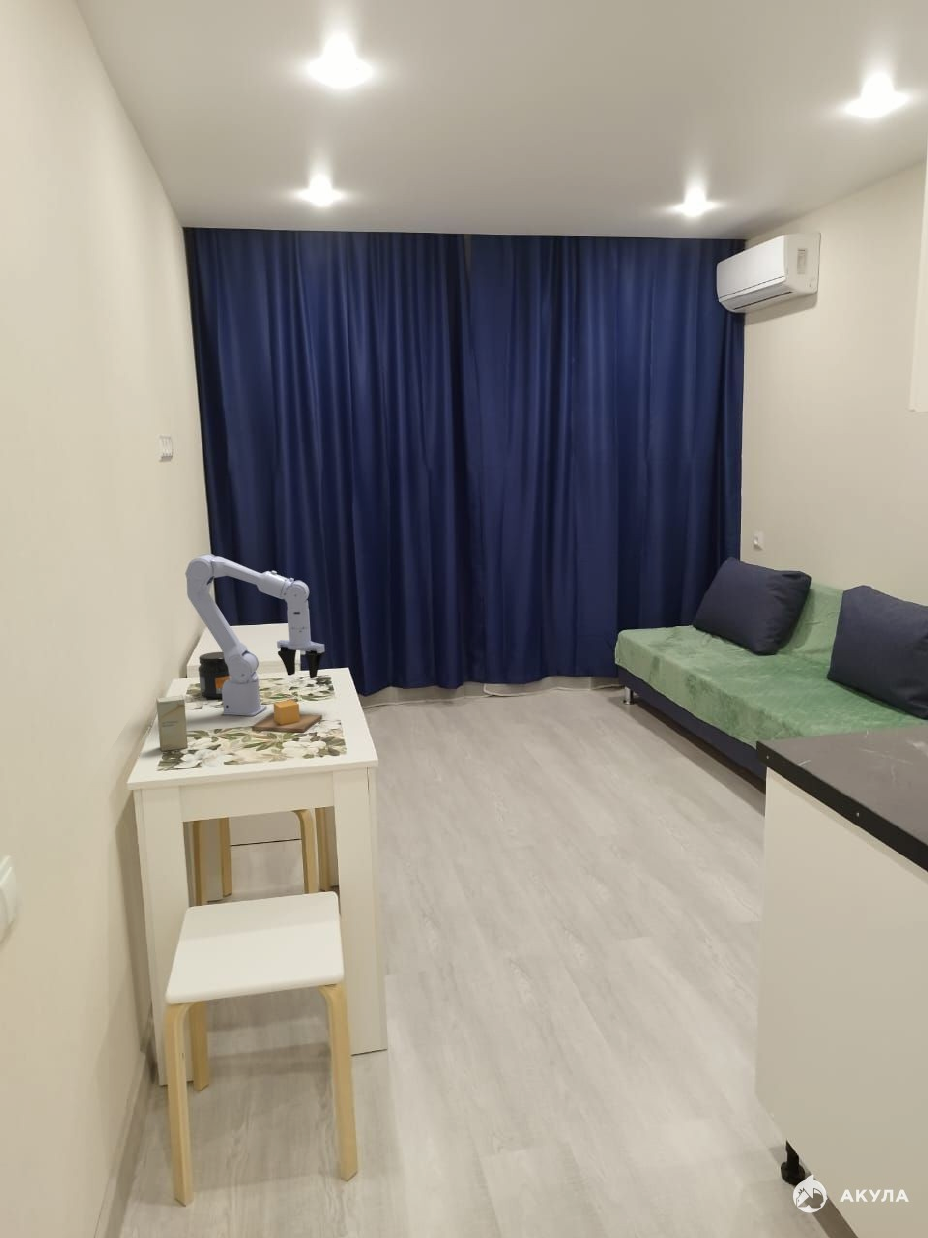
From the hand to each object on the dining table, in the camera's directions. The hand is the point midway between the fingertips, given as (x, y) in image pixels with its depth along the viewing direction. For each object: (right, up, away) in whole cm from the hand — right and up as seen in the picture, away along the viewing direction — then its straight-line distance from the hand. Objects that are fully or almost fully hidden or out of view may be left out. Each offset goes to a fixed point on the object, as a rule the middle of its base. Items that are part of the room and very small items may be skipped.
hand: (302, 676), depth 242 cm
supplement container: (-28, -7, +19) cm, 34 cm away
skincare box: (-26, -16, -26) cm, 40 cm away
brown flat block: (-2, -12, -11) cm, 16 cm away
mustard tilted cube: (-2, -11, -11) cm, 16 cm away
